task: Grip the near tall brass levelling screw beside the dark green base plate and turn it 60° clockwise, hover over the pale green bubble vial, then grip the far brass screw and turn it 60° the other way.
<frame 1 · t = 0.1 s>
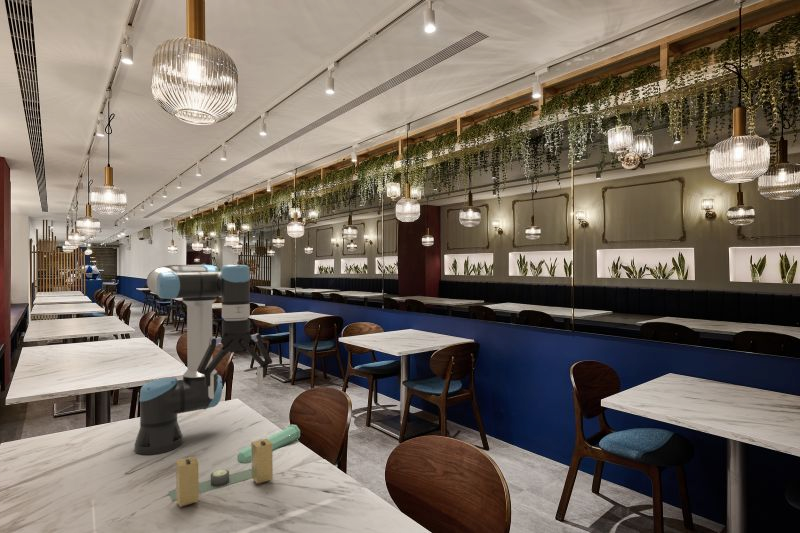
hand: (236, 393, 126), 28 cm above the table, fingers open, 13 cm apart
knob near: (187, 481, 117), point 7 cm above the table, hinge at 0.0°
base plate: (220, 486, 128), on the table
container: (269, 452, 152), on the table
knob far: (262, 461, 129), point 7 cm above the table, hinge at 0.0°
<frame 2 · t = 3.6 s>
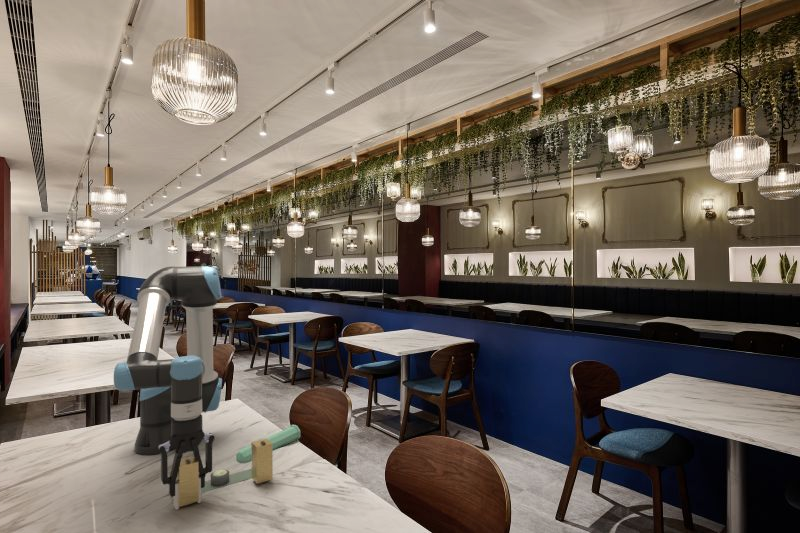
hand: (187, 503, 117), 1 cm above the table, fingers closed on knob near, 5 cm apart
knob near: (187, 481, 117), point 7 cm above the table, hinge at 0.0°, touching gripper
everything else where it was.
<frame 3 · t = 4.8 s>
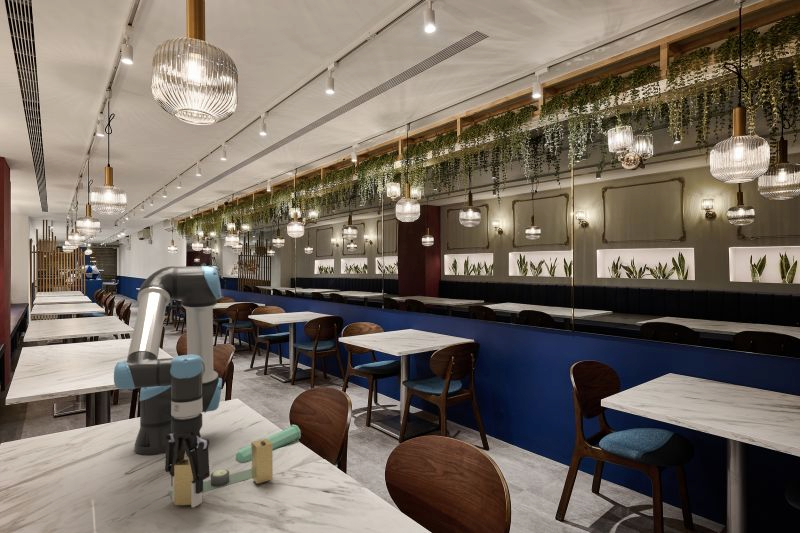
hand: (187, 501, 117), 2 cm above the table, fingers closed on knob near, 6 cm apart
knob near: (187, 481, 117), point 7 cm above the table, hinge at -33.2°, touching gripper
everything else where it was.
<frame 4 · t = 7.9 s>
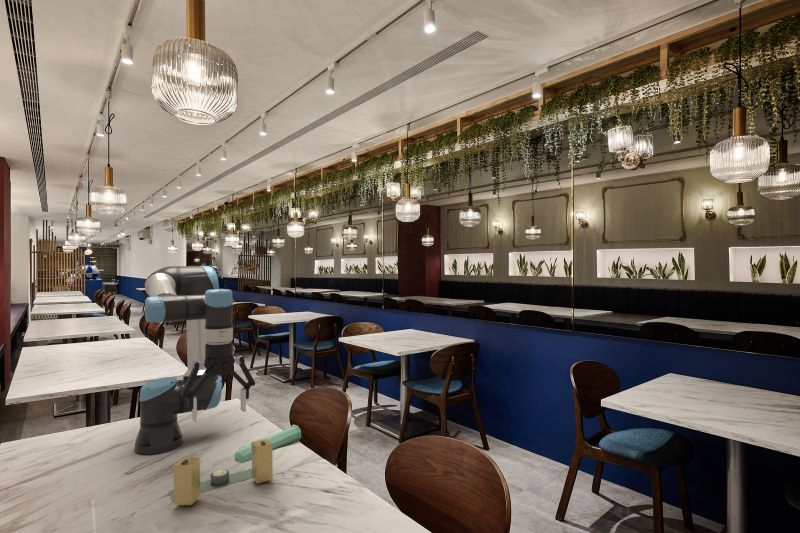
hand: (219, 415, 128), 21 cm above the table, fingers open, 13 cm apart
knob near: (187, 481, 117), point 7 cm above the table, hinge at -37.6°
everything else where it was.
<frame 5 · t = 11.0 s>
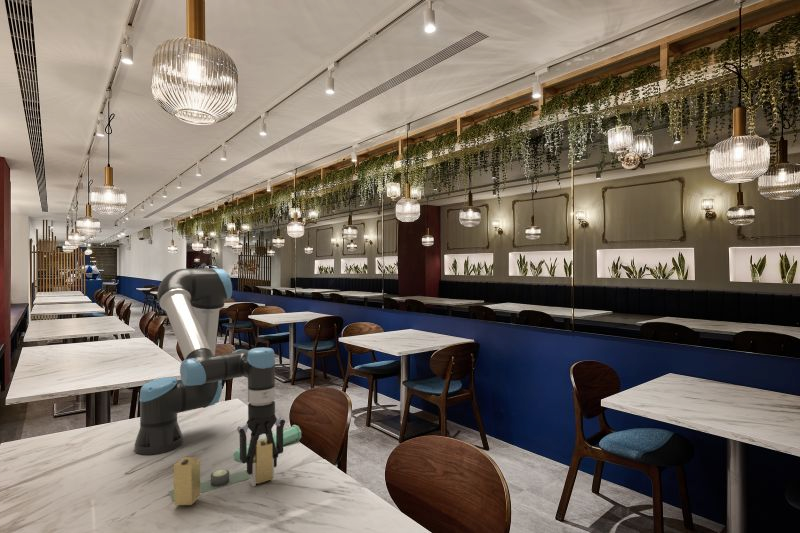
hand: (262, 481, 129), 1 cm above the table, fingers closed on knob far, 5 cm apart
knob far: (262, 461, 129), point 7 cm above the table, hinge at -0.1°, touching gripper
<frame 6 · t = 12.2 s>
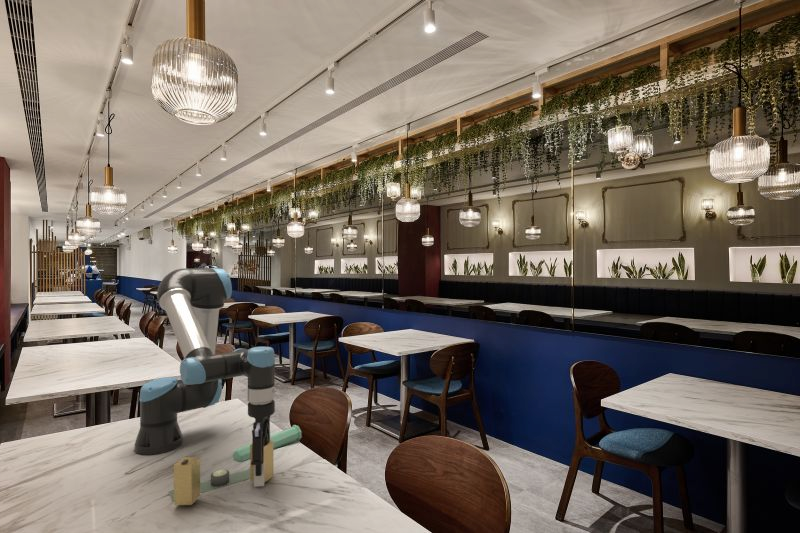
hand: (261, 479, 129), 2 cm above the table, fingers closed on knob far, 6 cm apart
knob far: (262, 461, 129), point 7 cm above the table, hinge at 34.6°, touching gripper
everything else where it was.
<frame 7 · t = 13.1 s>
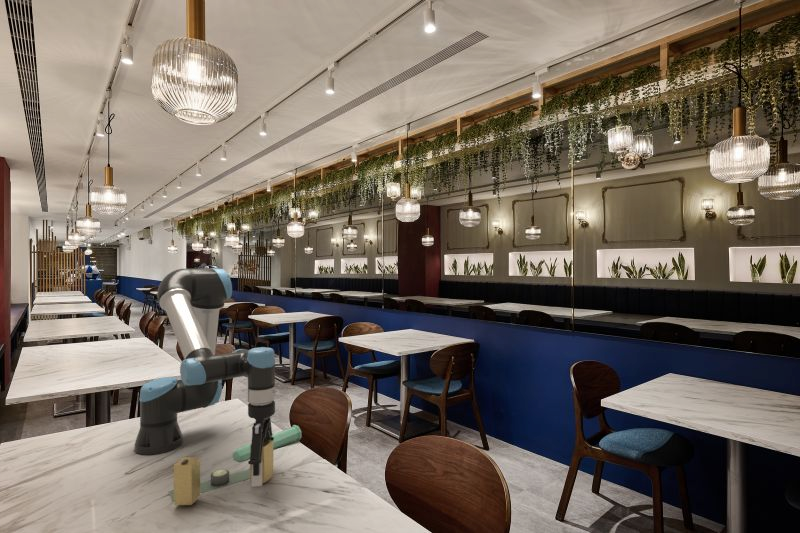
hand: (261, 474, 129), 3 cm above the table, fingers open, 13 cm apart
knob far: (262, 461, 129), point 7 cm above the table, hinge at 37.4°
everything else where it was.
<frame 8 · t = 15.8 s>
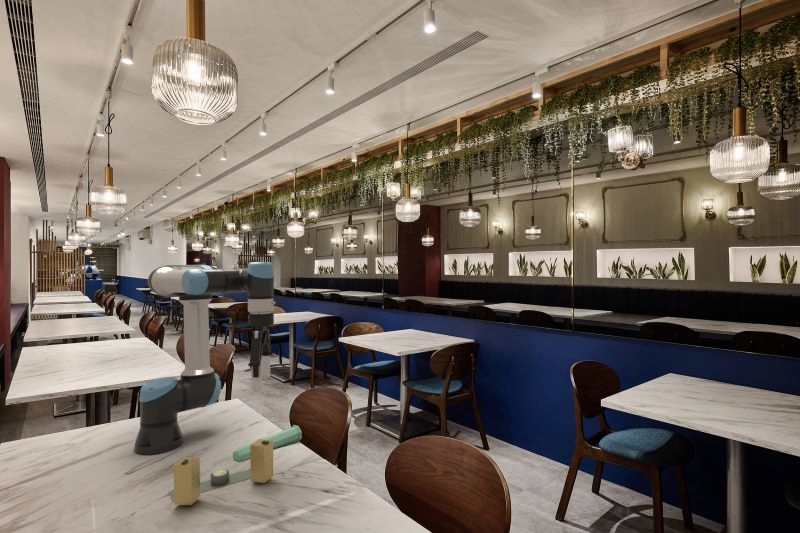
hand: (261, 381, 135), 29 cm above the table, fingers open, 13 cm apart
knob far: (262, 461, 129), point 7 cm above the table, hinge at 38.0°
everything else where it was.
at the end: knob near at -38° (first picture: +0°); knob far at +38° (first picture: +0°) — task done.
